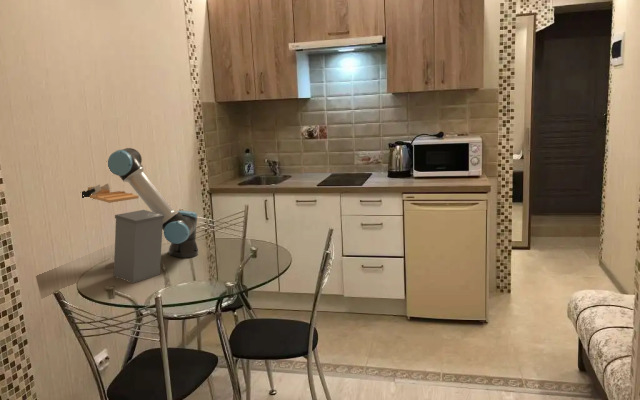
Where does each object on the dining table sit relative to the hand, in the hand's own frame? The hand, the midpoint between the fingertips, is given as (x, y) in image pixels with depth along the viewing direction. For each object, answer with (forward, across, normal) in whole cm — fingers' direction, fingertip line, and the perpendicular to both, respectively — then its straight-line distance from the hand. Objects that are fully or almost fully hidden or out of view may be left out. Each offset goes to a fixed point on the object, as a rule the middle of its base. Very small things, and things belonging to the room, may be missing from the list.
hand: (104, 186), depth 236 cm
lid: (0, 0, -5) cm, 5 cm away
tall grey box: (+1, 0, -44) cm, 44 cm away
